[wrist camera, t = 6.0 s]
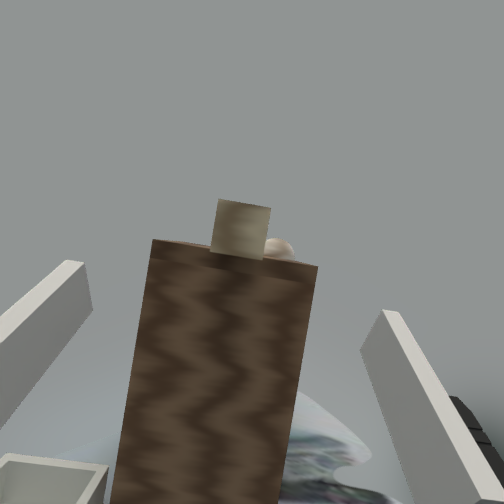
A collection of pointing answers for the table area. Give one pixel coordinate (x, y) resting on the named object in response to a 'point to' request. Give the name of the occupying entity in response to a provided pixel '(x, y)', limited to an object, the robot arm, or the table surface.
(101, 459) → the table surface
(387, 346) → the robot arm
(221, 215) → the wooden board
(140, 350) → the wooden block
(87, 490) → the tray
